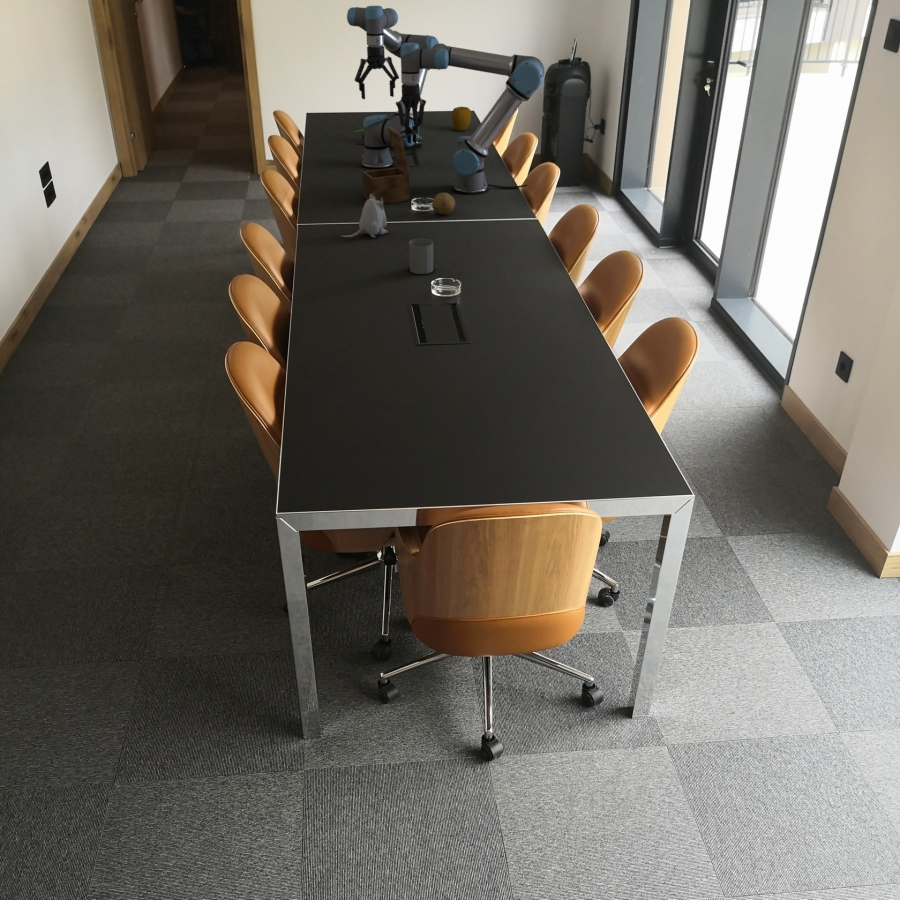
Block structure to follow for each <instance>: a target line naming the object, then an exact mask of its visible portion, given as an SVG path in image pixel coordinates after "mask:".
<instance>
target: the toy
mask: <svg viewBox="0 0 900 900" xmlns="http://www.w3.org/2000/svg"><path fill="white" fill-rule="evenodd" d="M369 198H370V199H368V200H367V199H366V201H365V203H364V205H363V208H362V211H361V215H360V218H359V222H358V226H359V229H358V230H357V231H356V232H354V233H352V234H348V235H341V237H342V238H353V237H356V236H358V235H359V234H360V235H366V234H367V235H369V236H370V238H373V239H375V238H377V236H376V235H378V234H379V235H380V236H381V235H384V234H388V233H389V231H388V230H387V229H385V228H386V227H387V216H386V213H385V208H384V204H383V199H382V198H381V202H380V201H378V200H376V199H375V197H374V196H373V195H372V194H370V197H369Z"/></svg>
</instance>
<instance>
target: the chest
mask: <svg viewBox="0 0 900 900" xmlns="http://www.w3.org/2000/svg"><path fill="white" fill-rule="evenodd" d="M362 186H363V198H364V199H365V200H366V201H367V200H368V199H370V198H369V197H370V194H372V195H373V196H374V197H375V199H376V200H378V201H380V202H381V198H382V199H383V205H384V204H392V203H399V202H407V201H410V199H411V197H410V173H407V172H405V171H404V170H402V169H401V168H399V167H392V168H391V167H389V168H382V169H372V170H365V171H362Z"/></svg>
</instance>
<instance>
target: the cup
mask: <svg viewBox="0 0 900 900" xmlns="http://www.w3.org/2000/svg"><path fill="white" fill-rule="evenodd" d="M408 253H409V272H411V273H412V274H416V275H426V274H430V273H432V272H434V241H433V240H431V239H428V238H422V237H421V238H420V237H419V238H414V239H411V240H410V241H409V242H408Z"/></svg>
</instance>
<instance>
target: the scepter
mask: <svg viewBox="0 0 900 900" xmlns="http://www.w3.org/2000/svg"><path fill="white" fill-rule="evenodd" d="M358 132H363V133H361V134H360V135H361V136H362V137H361V140H364V128H359V129H357V130H354V131H352V134H353V133H358ZM352 141H353V142H355V143H357V144H359V145H365V141H359V140H356V139H352Z"/></svg>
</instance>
